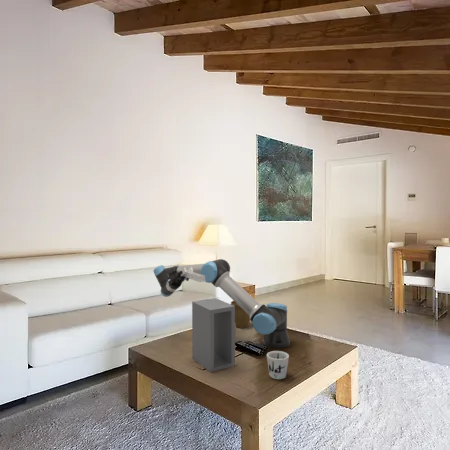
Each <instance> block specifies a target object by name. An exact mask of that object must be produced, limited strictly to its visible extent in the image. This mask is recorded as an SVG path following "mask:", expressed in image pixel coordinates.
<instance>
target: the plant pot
mask: <svg viewBox="0 0 450 450" xmlns="http://www.w3.org/2000/svg"><path fill="white" fill-rule="evenodd" d="M230 304H231V305H233V306H235V327H236V328H239V329H244V328H248V326H249V323H250V322H251V320H250V316H249V315H248V314H247V313H246V312H245V311H244V310H243V309H242V308H241V307H240V306H239V305H238V304H237V303H236V302H235V301H234V300H232V301H230Z"/></svg>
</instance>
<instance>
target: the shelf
mask: <svg viewBox="0 0 450 450" xmlns="http://www.w3.org/2000/svg"><path fill="white" fill-rule="evenodd" d="M191 313H192V314H191V315H192V316H191V317H192V319H191V323H192V324H191V325H192V327H191V330H192V331H191V333H192V335H191V336H192V337H191V338H192V339H191V341H192V343H191V344H192V347H191V348H192V351H191V352H192V354H191V359H192V360H193V361H195V362H196V363H198V364H199V366H201V367H202V368H204V369H205V370H206V371H208V372H209V373H212V372H216V371H220V370H223V369H228V368H232V367H235V366H236V324H235V306H233V305H231V303H230V302H229V303H228V302H226V301H224V300H221V299H218V298H216V297H215V298H209V299H202V300H193V301H191Z"/></svg>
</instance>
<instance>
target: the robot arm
mask: <svg viewBox="0 0 450 450" xmlns="http://www.w3.org/2000/svg"><path fill="white" fill-rule="evenodd" d="M179 269H182V270H181V271H180V272H179ZM186 270H189V271H192V272H195V273H198V274H201V275H204V276H205V281H204V282H205V283H208V284H211V285H213V286H214V287H215V288H220V289H221V290H222V291H223V292H224V293H225V294H226V295H227V296H228V297H229V298H230V299H232V301H235V302H236V303H237V304H238V305H239V306H240V307H241V308H242V309H243V310H244V311H245V312H246V313H247V314H248V315H249V316H250V322H251V323H252V326H253V328H254V330H255V332H257V333H258V334H260V335H263V339H262V340H263V341H262V342H263V345H265V346H267V347H269V348H274V349H275V348H276V349H280V348H281V349H283V348H286V347H289V346H290V344H291V343H290V342H291V340H290V337H289V333H288V308H287V305H286V304H284V303H280V302H279V303H278V302H269V303H267V304H265V303H259V302H258V301H257V300H256V298H254V297H253V296H252V295H251V294H250V293H248V291H246V290H245V289H244V288H243V287H242V286H241V285H240V284H239V283H237V281H236V280H234V279H233V278H232V277H231V276H230V272H231V266H230V263H229V262H228V261H227V260H225V259H222V258H220V259H216V260H215V259H214V260H211V261H210V260H209V261H207V262H205V263H196V264H188V265H173V266H170V267H165V266H164V265H163V264H162V265H161V264H160V265H158V266H157V267H155V268H154V269H153V271H152V272H153V273H154V276H155V278H156V280H157V282H158V284H159V286H160V295H162V296H163V297H166V298H167V297H170V296H171V295H173V294H174V293H175V292H176V291H177V290H178V289H180V287H181V286H182V285H183V283H184V282H185V281H186V282H188V281H189V280H191V279H190V278H187V277H184V276H183V275H184V274H185V273H186Z"/></svg>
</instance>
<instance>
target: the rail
mask: <svg viewBox="0 0 450 450" xmlns="http://www.w3.org/2000/svg"><path fill="white" fill-rule="evenodd" d="M181 270H182V269H179V272H180V271H181ZM183 276H184V277H187V278H190V279H189V280H192V281H195V282H198V283H203V282H205V276H204V275H201V274H198V273H195V272H192V271H189V270H186V273H185V274H184V275H183Z"/></svg>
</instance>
